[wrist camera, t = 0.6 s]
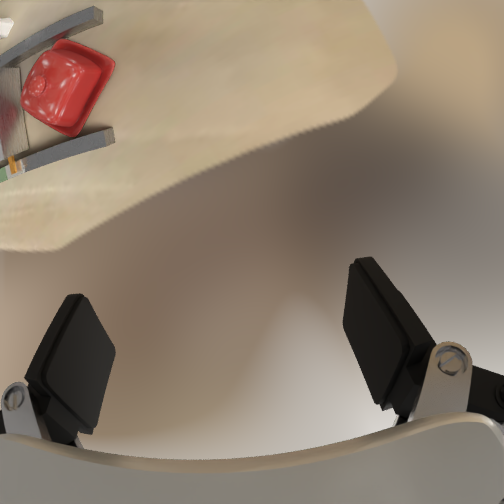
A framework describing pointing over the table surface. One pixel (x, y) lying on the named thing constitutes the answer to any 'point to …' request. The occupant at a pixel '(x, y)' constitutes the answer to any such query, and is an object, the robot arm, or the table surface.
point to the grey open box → (33, 46)
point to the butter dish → (66, 85)
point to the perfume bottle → (5, 27)
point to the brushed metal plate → (11, 117)
